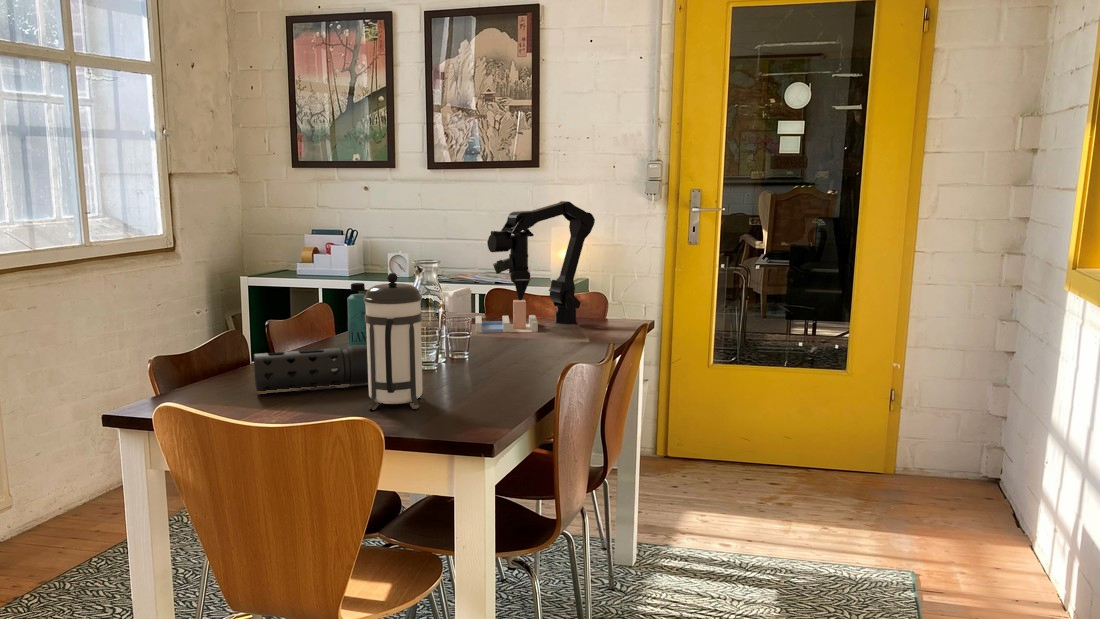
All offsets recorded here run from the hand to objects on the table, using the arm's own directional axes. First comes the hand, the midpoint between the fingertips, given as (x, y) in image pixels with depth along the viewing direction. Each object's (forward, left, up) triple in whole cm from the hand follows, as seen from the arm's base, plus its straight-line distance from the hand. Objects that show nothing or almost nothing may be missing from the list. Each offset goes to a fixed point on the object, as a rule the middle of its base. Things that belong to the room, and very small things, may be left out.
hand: (519, 298), depth 282 cm
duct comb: (+5, 0, -11) cm, 12 cm away
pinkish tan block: (0, 0, -10) cm, 10 cm away
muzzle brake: (+53, +73, -11) cm, 91 cm away
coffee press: (+32, +89, -11) cm, 95 cm away
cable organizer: (+24, -21, -11) cm, 33 cm away
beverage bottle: (+49, +27, -11) cm, 57 cm away
